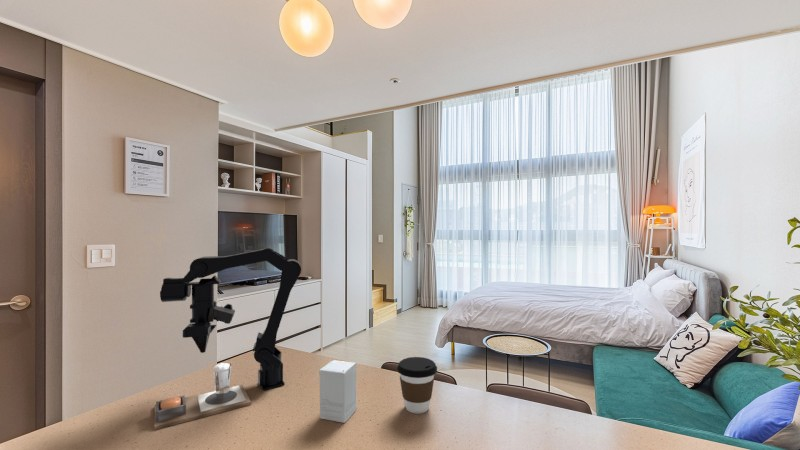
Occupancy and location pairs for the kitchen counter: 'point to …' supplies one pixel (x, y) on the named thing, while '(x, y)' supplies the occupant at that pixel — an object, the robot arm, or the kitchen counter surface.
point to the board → (199, 407)
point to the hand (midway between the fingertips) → (203, 352)
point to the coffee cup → (417, 382)
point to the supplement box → (338, 391)
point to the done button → (170, 403)
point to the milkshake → (222, 380)
